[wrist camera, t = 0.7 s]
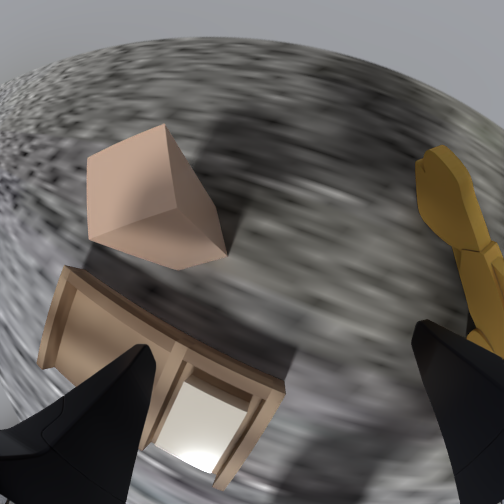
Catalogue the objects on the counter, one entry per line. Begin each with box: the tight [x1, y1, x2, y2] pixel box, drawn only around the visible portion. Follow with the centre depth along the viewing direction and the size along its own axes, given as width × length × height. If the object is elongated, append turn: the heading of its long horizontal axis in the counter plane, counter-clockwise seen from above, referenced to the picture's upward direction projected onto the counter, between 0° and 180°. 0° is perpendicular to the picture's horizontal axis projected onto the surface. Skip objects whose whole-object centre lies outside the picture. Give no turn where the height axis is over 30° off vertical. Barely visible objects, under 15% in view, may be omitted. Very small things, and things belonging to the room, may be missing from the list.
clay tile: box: [155, 375, 250, 473], centre depth 18 cm, size 7×5×2 cm
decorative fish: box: [415, 145, 504, 359], centre depth 16 cm, size 22×3×10 cm, turn 24°
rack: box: [37, 265, 286, 491], centre depth 19 cm, size 11×21×3 cm, turn 65°
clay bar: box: [87, 124, 228, 270], centre depth 17 cm, size 4×4×12 cm
